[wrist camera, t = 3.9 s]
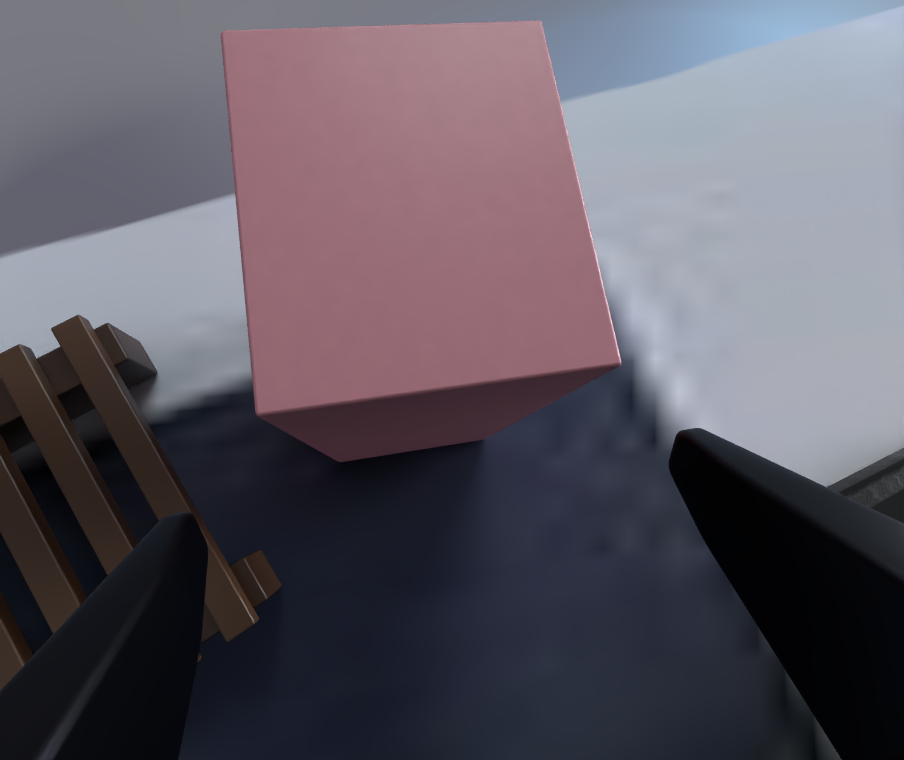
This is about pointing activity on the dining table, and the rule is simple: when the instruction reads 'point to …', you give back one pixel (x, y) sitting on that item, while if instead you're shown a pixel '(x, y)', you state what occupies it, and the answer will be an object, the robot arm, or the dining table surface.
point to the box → (409, 233)
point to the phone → (878, 486)
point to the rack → (95, 481)
